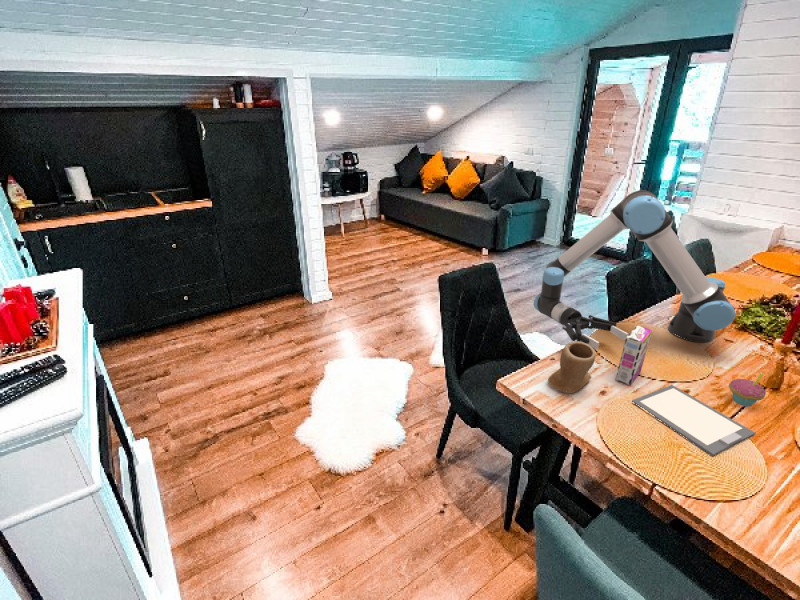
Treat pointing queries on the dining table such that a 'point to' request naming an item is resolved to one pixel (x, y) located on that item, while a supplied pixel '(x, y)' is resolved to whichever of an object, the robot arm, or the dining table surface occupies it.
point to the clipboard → (694, 419)
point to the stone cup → (573, 367)
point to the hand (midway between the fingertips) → (612, 341)
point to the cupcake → (747, 391)
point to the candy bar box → (633, 354)
